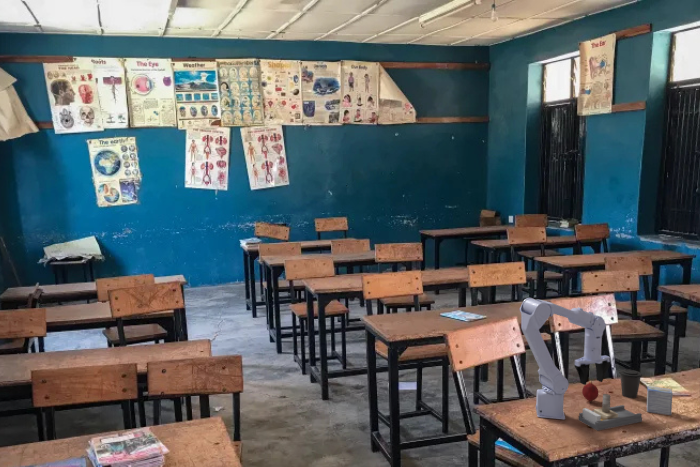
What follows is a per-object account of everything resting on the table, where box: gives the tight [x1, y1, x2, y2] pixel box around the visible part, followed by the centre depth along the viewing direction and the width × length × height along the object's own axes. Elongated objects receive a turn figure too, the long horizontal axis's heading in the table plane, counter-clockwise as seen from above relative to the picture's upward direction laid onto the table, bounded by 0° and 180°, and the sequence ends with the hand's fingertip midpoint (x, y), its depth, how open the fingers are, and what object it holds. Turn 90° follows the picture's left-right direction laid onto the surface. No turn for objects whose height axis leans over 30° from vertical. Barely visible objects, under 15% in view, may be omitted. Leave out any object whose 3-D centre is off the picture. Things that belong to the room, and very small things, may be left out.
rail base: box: [578, 404, 643, 431], centre depth 201 cm, size 20×9×4 cm, turn 110°
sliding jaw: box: [593, 393, 618, 420], centre depth 200 cm, size 5×6×8 cm
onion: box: [581, 380, 599, 402], centre depth 218 cm, size 6×6×8 cm
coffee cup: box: [619, 368, 643, 399], centre depth 224 cm, size 8×8×10 cm
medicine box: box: [646, 385, 674, 416], centre depth 208 cm, size 8×4×9 cm, turn 65°
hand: (591, 382), depth 210 cm, fingers open, 7 cm apart
